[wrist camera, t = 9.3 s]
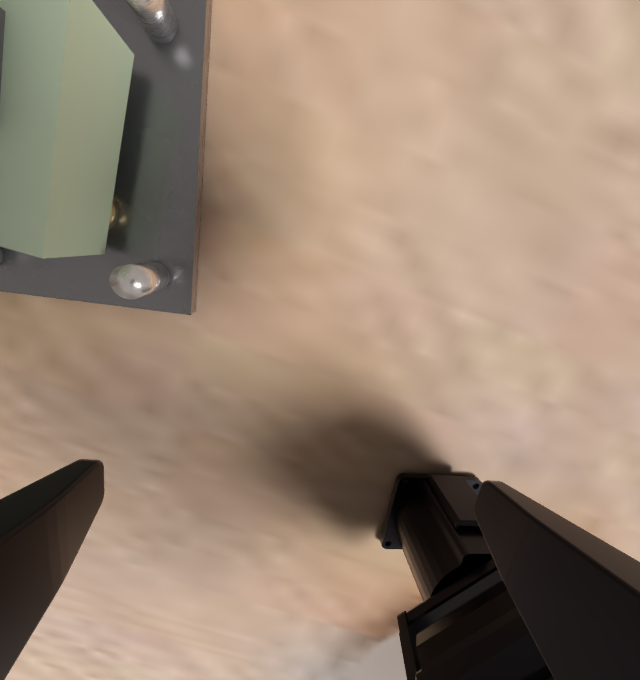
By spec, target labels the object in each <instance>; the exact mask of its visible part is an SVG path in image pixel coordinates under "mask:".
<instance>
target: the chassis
mask: <svg viewBox="0 0 640 680" xmlns="http://www.w3.org/2000/svg"><path fill="white" fill-rule="evenodd" d="M92 1H93V2H94V3H95V5H96V6H97V7H98V8H99V10H100V11H101V12H102V14H103V15H104V16H105V17H106V19H107V20H108V21H109V23H110V24H111V25H112V27H113V28H114V29H115V30H116V32H117V33H118V34H119V36H120V37H121V38H122V39H123V41H124V42H125V43H126V45H127V46H128V47H129V49H130V50H131V51H132V52H133V54H134V61H133V67H132V74H131V81H130V87H129V94H128V101H127V108H126V114H125V121H124V128H123V134H122V141H121V148H120V155H119V161H118V168H117V175H116V181H115V188H114V195H113V202H112V208H111V215H110V222H109V228H108V235H107V242H106V249H105V254H101V255H87V256H73V257H58V258H44V259H43V258H39V257H36V256H32V255H28V254H25V253H21V252H18V251H14V250H11V249H7V248H4V247H0V291H3V292H11V293H19V294H27V295H35V296H43V297H51V298H59V299H67V300H75V301H83V302H91V303H99V304H107V305H115V306H123V307H131V308H139V309H147V310H155V311H163V312H172V313H180V314H188V315H191V314H192V313H194V312H195V311H196V293H197V274H198V256H199V237H200V218H201V199H202V181H203V162H204V143H205V125H206V106H207V87H208V69H209V50H210V31H211V13H212V0H92Z"/></svg>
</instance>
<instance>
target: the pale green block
mask: <svg viewBox="0 0 640 680" xmlns="http://www.w3.org/2000/svg"><path fill="white" fill-rule="evenodd" d="M133 61H134V54H133V52H132V51H131V50H130V49H129V47H128V46H127V45H126V43H125V42H124V41H123V39H122V38H121V37H120V36H119V34H118V33H117V32H116V30H115V29H114V28H113V27H112V25H111V24H110V23H109V21H108V20H107V19H106V17H105V16H104V15H103V14H102V12H101V11H100V10H99V8H98V7H97V6H96V5H95V3H94V2H93V1H92V0H0V247H4V248H7V249H11V250H14V251H18V252H21V253H25V254H28V255H32V256H36V257H39V258H43V259H44V258H58V257H73V256H87V255H101V254H105V249H106V242H107V235H108V228H109V222H110V215H111V208H112V202H113V195H114V188H115V181H116V175H117V168H118V161H119V155H120V148H121V141H122V134H123V128H124V121H125V114H126V108H127V101H128V94H129V87H130V81H131V74H132V67H133Z"/></svg>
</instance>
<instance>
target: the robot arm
mask: <svg viewBox="0 0 640 680" xmlns="http://www.w3.org/2000/svg"><path fill="white" fill-rule="evenodd" d="M404 480H406V481H404ZM403 481H404V482H403ZM103 497H104V466H103V463H102V462H101V461H100V460H89V459H81V460H78V461H75V462H73V463H71V464H69V465H67V466H65V467H63V468H61V469H59V470H57V471H55V472H54V473H52V474H50V475H48V476H46V477H44V478H42V479H40V480H38V481H36V482H34V483H32V484H30V485H28V486H26V487H24V488H22V489H20V490H18V491H16V492H14V493H12V494H10V495H8V496H6V497H4V498H2V499H0V680H4V679H5V678H6V676H7V674H8V673H9V671H10V670H11V668H12V666H13V665H14V663H15V661H16V660H17V658H18V656H19V655H20V653H21V651H22V650H23V648H24V646H25V645H26V643H27V641H28V640H29V638H30V636H31V635H32V633H33V632H34V630H35V628H36V627H37V625H38V623H39V622H40V620H41V618H42V617H43V615H44V613H45V612H46V610H47V608H48V607H49V605H50V603H51V602H52V600H53V598H54V597H55V595H56V593H57V592H58V590H59V588H60V586H61V585H62V583H63V581H64V579H65V577H66V575H67V573H68V571H69V569H70V567H71V565H72V563H73V561H74V559H75V557H76V555H77V553H78V551H79V549H80V547H81V545H82V543H83V541H84V539H85V537H86V534H87V532H88V530H89V528H90V526H91V524H92V522H93V520H94V518H95V516H96V514H97V512H98V510H99V508H100V506H101V504H102V501H103ZM380 542H381V544H382V547H383V548H385V549H403V552H404V554H405V557H406V559H407V562H408V564H409V567H410V569H411V572H412V574H413V577H414V579H415V582H416V584H417V587H418V589H419V592H420V594H421V596H422V599H423V602H422V603H420V604H418V605H417V606H415V607H414V608H412V609H411V610H409V611H407V612H406V611H404V612H402V613H400V614H399V615H397V619H398V625H399V630H400V633H399V636H400V641H401V647H402V653H403V658H404V664H405V670H406V675H407V680H640V562H639V561H637V560H635V559H633V558H632V557H630V556H628V555H627V554H625V553H623V552H621V551H620V550H618V549H616V548H615V547H613V546H611V545H609V544H608V543H606V542H604V541H603V540H601V539H599V538H597V537H596V536H594V535H592V534H591V533H589V532H587V531H585V530H584V529H582V528H580V527H578V526H577V525H575V524H573V523H572V522H570V521H568V520H566V519H565V518H563V517H561V516H560V515H558V514H556V513H554V512H553V511H551V510H549V509H548V508H546V507H544V506H542V505H541V504H539V503H537V502H536V501H534V500H532V499H530V498H529V497H527V496H525V495H524V494H522V493H520V492H518V491H517V490H515V489H513V488H511V487H510V486H508V485H506V484H505V483H503V482H500V481H488V480H487V481H484V482H483V483H482V482H481V481H480V480H479V479H478V478H477V477H470V476H451V475H432V474H413V473H402V474H400V475H399V476H398V477H397V479H396V483H395V486H394V490H393V494H392V498H391V501H390V505H389V509H388V512H387V516H386V520H385V524H384V527H383V531H382V535H381V538H380Z"/></svg>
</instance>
